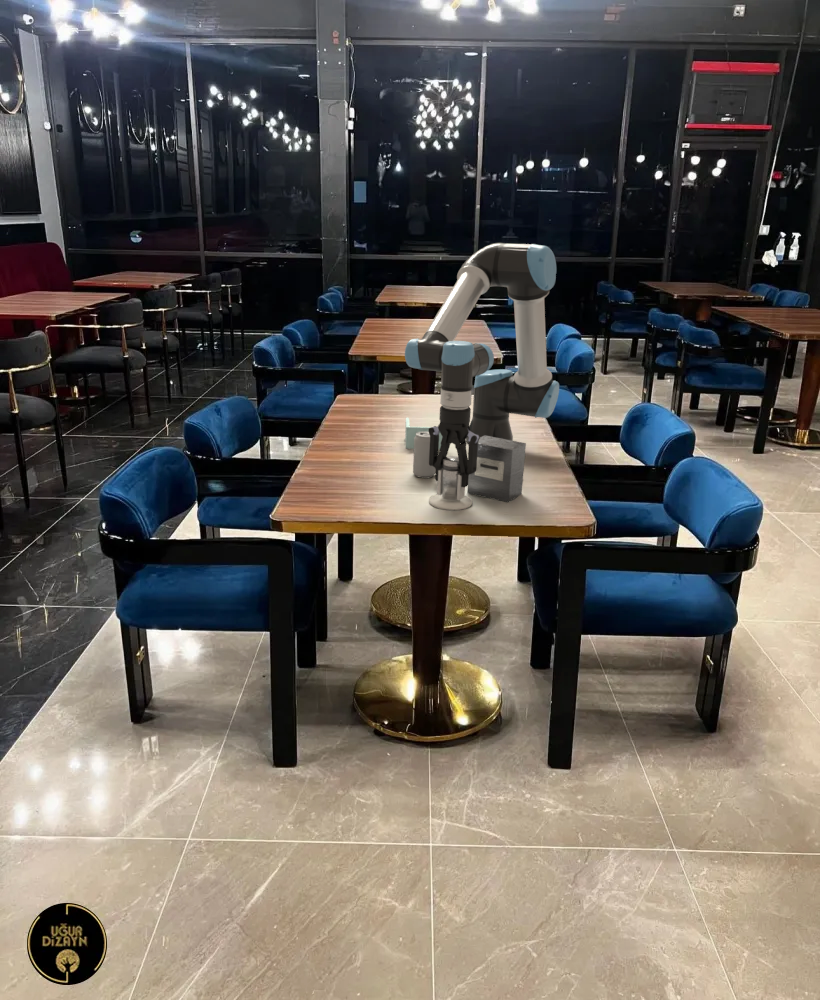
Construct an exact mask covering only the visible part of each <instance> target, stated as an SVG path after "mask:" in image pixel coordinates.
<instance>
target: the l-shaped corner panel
mask: <svg viewBox="0 0 820 1000" xmlns="http://www.w3.org/2000/svg"><path fill="white" fill-rule="evenodd" d="M431 427H432V426H410V417H405V432H404V433H405V435H404V436H405V437H404V440H405V449H407V450H409V449H410V450H414V438H415V436H416V433H417V432H423V431H426V432H429V428H431ZM441 441H442V435H441V433H439V448H438V450H440V447H441Z"/></svg>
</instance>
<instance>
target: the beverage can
mask: <svg viewBox="0 0 820 1000" xmlns="http://www.w3.org/2000/svg"><path fill="white" fill-rule="evenodd" d="M429 450H430V434H429V432H426V431H423V432H417V433H416V436H415V438H414V449H413V463H412V464H413V465H412V474H414V475H415V476H416V477H418V478H422V477H423V478H424V479H427V478H433V477H434V476H435V474H436V469H435V467H433V466H430V465H429Z"/></svg>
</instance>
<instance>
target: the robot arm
mask: <svg viewBox="0 0 820 1000" xmlns="http://www.w3.org/2000/svg"><path fill="white" fill-rule="evenodd" d="M556 274H557V262H556V256H555V254H554V252H553V251H552V249H551V248H550V247H549V246H547V245H541V244H536V243H531V244H529V243H527V244H526V243H507V242H506V243H505V242H495V243H490V244H489V245H485V246H484V247H482V248H480V249H479V250H477V251H476V252H474V253H473V254H472V255H470V256H469V257H468V258H467V259H466V260H465V261H464V263H462V265H461V267H460V268H459V270H458V272H457V275H456V279H457V280H456V282H455V284H454V285H453V287H452V289H451V290H450V292H449V294H448V296H446V299H445V300H444V302H443V303H442V304H441V305H442V306H441V307H440V309H439V310H438V311H437V313H436V315H435V317H434V318H433V320H432V321H431V323H430V325H429V326H428V328H427V329H426V331H425V333H424V334H423V336H422V337H421V338H412V339H410V340H408V342H407V343H406V345H405V349H404V359H405V363H406V364H407V366H408V367H409V368H413V369H418V370H421V371H432V372H433V371H434V372H441V382H440V403H439V404H440V405H441V406H440V407H439V424H438V426H436V425H434V426H430V427H431V428H429V434H430V450H429V465H430V466H433V467H435V469H436V473H435V475H434V476H435V477H434V478H435V482H437V491H436V492H437V493H436V494H437V495H442V473H443V468H442V464H443V458H444V457H447V456H448V453H449V449H450V446H451V444H453V445H454V446H455V449H456V450H457V451H456V452H457V457H458V459H459V465H460V470H461V473H460V474H459V475H458V485H457V500H460V499H462V498H464V497H465V496H466V494H465V493H466V488H467V487H468V479H469V474H472V473H474V472H476V468H477V448H478V441H479V439H480V437H482V436H484V435H485V436H490V437H496V438H501V439H506V440H512V441H514V435H513V432H512V428H511V423H510V414H514V415H520V416H527V417H533V418H534V419H535V418H542V419H547V418H550V416H551V415H552V414H553V412H554V410H555V408H556V404H557V403H558V399H559V394H560V383H559V382H558V381H556V380H553V374H552V371H550V370H549V369H548V368H547V366H548V365H547V364H548V363H547V339H546V335H547V333H546V317H545V316H546V315H545V314H546V311H545V310H546V309H545V308H546V307H545V298H546V297H547V296H548V295H549V294H550V290H551V289H552V288H554V286H555V284H556V278H557V277H556V276H557V275H556ZM490 287H502V288H503V287H504V288H507V296H508V298H509V299H511V300H512V301H513V309H514V327H515V329H514V330H515V342H516V358H517V371H516V372H515V373H513V371H512V370H511V369H503V368H502V369H501V368H500V369H491V368H492V366H493V365H494V362H495V361H494V360H495V357H494V353H493V350H492V349H491V347H490V346H488V345H487V344H485V343H474V344H473V343H472V342H471V341H470V342H469V341H465V340H455V339H456V338H457V336H458V335H459V333H460V331H461V329H462V328H463V326H464V324H465V322H466V321H467V319H468V318H469V315H470V314H471V312H472V310H473V309H474V307H475V306H476V304H477V302H478V300H479V299H480V297H481V295H484V294H485V293H487V292H488V290H489V289H490ZM513 374H514V375H513ZM474 377H475V378H474ZM473 378H474V379H475V380H474V385H473ZM472 390H473V391H472ZM472 392H473V401H472ZM472 403H473V405H472ZM471 406H472V412H471V408H470V407H471ZM471 413H472V418H471ZM439 433H441V435H442V441H441V447H440V449H438V448H439ZM467 444H468V451H467ZM467 452H468V453H467Z"/></svg>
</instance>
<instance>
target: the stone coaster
mask: <svg viewBox="0 0 820 1000" xmlns="http://www.w3.org/2000/svg"><path fill="white" fill-rule="evenodd" d="M428 503H429V505H430V506H431V507H434V508H436V509H438V510H439V509H440V510H445V511H461V510H466V509H469V508H470V507H472V506H473V500H472V498H471V497H468V495H465V497H464V498H462V499H460V500H447V499H444V498H442V495H437V493H436V494H433V495H431V496H430V497H429V498H428Z"/></svg>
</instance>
